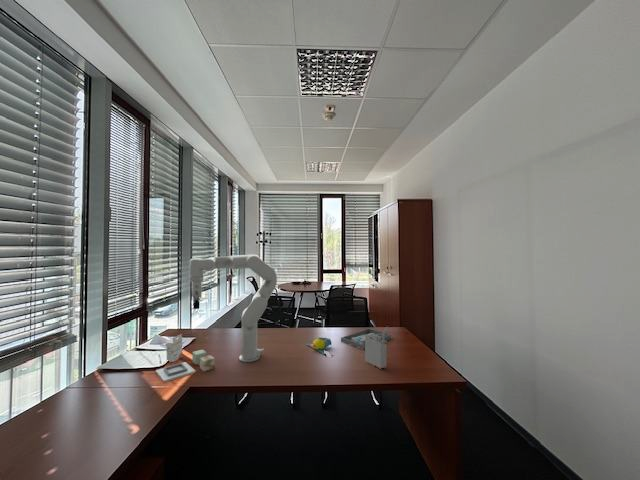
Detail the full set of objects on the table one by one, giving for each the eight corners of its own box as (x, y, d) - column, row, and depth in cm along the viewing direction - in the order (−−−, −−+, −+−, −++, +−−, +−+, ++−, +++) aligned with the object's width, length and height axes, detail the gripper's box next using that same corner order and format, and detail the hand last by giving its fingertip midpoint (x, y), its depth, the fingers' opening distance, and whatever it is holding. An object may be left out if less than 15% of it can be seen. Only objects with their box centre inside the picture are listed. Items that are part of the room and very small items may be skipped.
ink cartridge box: (175, 356, 182) (175, 333, 182) (182, 356, 181) (182, 333, 181) (165, 361, 174) (166, 337, 174) (173, 362, 173) (173, 338, 173)
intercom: (388, 334, 213) (362, 340, 200) (388, 340, 213) (362, 347, 200) (376, 329, 224) (350, 335, 211) (376, 335, 224) (350, 341, 211)
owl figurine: (300, 333, 202) (318, 330, 210) (300, 345, 202) (318, 342, 210) (323, 345, 179) (342, 341, 187) (323, 359, 179) (342, 354, 187)
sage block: (202, 358, 178) (202, 349, 178) (206, 362, 174) (206, 352, 174) (192, 361, 174) (192, 351, 174) (196, 364, 170) (196, 354, 170)
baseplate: (185, 363, 171) (185, 359, 171) (195, 372, 160) (195, 368, 160) (155, 371, 160) (155, 368, 160) (163, 382, 149) (163, 378, 149)
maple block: (210, 365, 170) (210, 355, 169) (214, 368, 165) (214, 358, 165) (199, 368, 165) (200, 357, 165) (204, 371, 161) (204, 361, 161)
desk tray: (368, 331, 231) (368, 328, 231) (391, 338, 216) (391, 334, 216) (340, 341, 209) (340, 337, 209) (363, 350, 194) (363, 345, 193)
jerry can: (390, 369, 164) (390, 326, 164) (384, 372, 162) (384, 327, 162) (370, 360, 177) (371, 320, 177) (365, 362, 174) (365, 321, 174)
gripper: (203, 280, 166) (203, 309, 166) (202, 276, 182) (202, 303, 182) (189, 281, 163) (189, 311, 163) (189, 277, 179) (189, 304, 179)
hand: (196, 307), depth 173 cm, fingers open, 9 cm apart
